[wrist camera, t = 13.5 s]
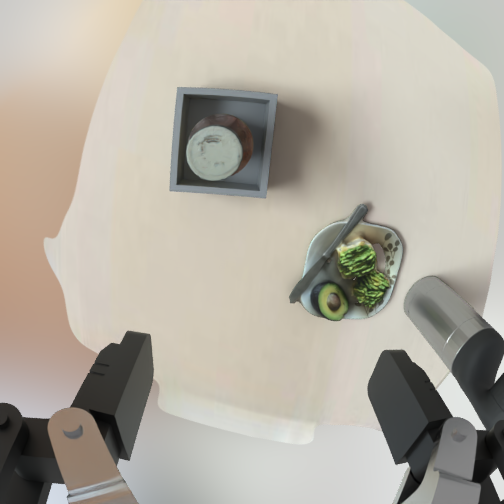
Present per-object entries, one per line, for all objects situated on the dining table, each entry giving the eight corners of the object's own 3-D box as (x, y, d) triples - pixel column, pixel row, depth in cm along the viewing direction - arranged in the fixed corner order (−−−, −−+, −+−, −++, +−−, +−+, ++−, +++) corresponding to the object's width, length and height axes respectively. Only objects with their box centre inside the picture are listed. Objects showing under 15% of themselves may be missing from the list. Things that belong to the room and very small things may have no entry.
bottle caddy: (272, 99, 38) (277, 94, 32) (262, 189, 42) (266, 198, 37) (185, 93, 37) (177, 87, 31) (178, 183, 41) (169, 191, 36)
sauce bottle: (215, 109, 37) (196, 86, 19) (258, 129, 38) (278, 124, 20) (193, 153, 39) (156, 170, 21) (236, 172, 41) (236, 206, 22)
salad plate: (308, 192, 43) (316, 199, 39) (411, 212, 45) (426, 220, 41) (283, 310, 50) (287, 326, 46) (378, 316, 52) (388, 330, 48)
